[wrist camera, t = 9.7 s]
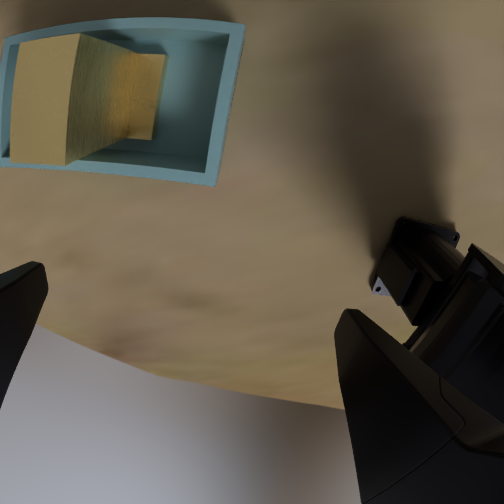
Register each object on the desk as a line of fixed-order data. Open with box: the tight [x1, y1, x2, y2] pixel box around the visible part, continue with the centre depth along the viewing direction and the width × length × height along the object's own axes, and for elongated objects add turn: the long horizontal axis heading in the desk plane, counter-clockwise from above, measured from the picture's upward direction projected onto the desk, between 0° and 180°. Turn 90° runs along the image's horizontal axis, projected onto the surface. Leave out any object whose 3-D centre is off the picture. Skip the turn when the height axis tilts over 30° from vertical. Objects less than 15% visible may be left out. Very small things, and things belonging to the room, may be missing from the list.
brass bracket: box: [10, 33, 169, 166], centre depth 12 cm, size 6×5×8 cm
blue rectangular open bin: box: [0, 17, 246, 187], centre depth 14 cm, size 14×8×4 cm, turn 79°
